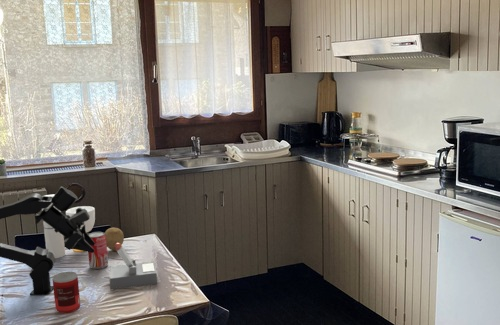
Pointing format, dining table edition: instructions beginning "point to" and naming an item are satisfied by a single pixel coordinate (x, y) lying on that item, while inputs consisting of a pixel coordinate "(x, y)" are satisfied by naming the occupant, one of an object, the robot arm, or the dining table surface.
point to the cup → (88, 223)
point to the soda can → (98, 251)
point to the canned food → (66, 292)
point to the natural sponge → (113, 237)
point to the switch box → (133, 275)
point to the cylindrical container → (54, 239)
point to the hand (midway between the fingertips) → (94, 248)
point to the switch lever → (124, 255)
